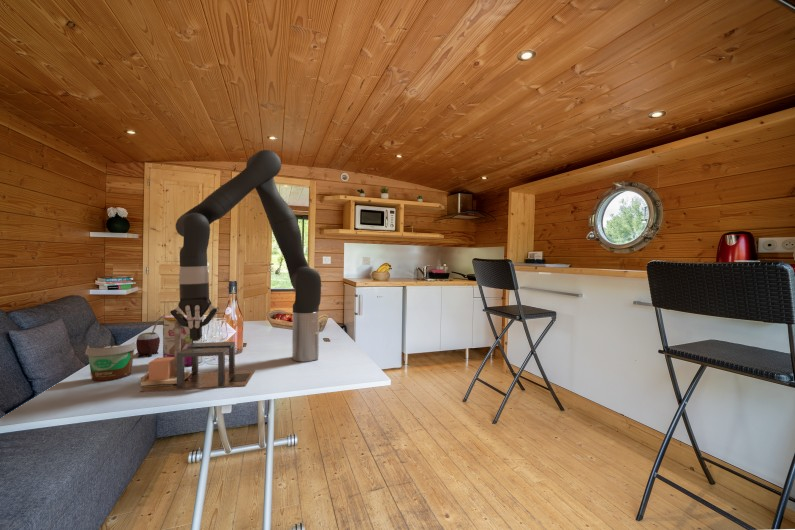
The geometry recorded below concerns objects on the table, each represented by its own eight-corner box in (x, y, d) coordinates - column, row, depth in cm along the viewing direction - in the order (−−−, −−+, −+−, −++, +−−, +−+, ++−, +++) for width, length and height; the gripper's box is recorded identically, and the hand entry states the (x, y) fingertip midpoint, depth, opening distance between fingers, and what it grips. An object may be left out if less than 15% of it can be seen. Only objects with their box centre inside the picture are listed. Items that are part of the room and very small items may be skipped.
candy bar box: (161, 365, 117) (161, 317, 117) (172, 360, 122) (172, 314, 122) (192, 366, 116) (192, 317, 116) (202, 362, 121) (202, 315, 121)
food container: (78, 385, 98) (78, 350, 98) (86, 379, 104) (85, 345, 103) (132, 379, 104) (132, 346, 104) (136, 373, 109) (136, 341, 109)
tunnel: (255, 371, 112) (255, 340, 112) (245, 386, 99) (245, 351, 99) (162, 375, 107) (162, 343, 107) (139, 392, 94) (139, 355, 94)
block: (175, 373, 104) (175, 357, 104) (168, 379, 99) (168, 361, 99) (157, 374, 103) (157, 357, 103) (148, 380, 98) (148, 362, 98)
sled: (189, 375, 106) (189, 318, 105) (180, 383, 99) (180, 323, 98) (153, 376, 104) (153, 319, 103) (140, 385, 97) (140, 324, 96)
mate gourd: (134, 355, 128) (134, 315, 128) (159, 351, 134) (159, 312, 134) (139, 359, 124) (139, 317, 123) (165, 354, 130) (165, 314, 129)
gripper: (222, 280, 107) (224, 336, 107) (175, 281, 104) (177, 338, 105) (214, 282, 99) (216, 342, 100) (163, 283, 97) (165, 345, 97)
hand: (196, 340), depth 102 cm, fingers closed
